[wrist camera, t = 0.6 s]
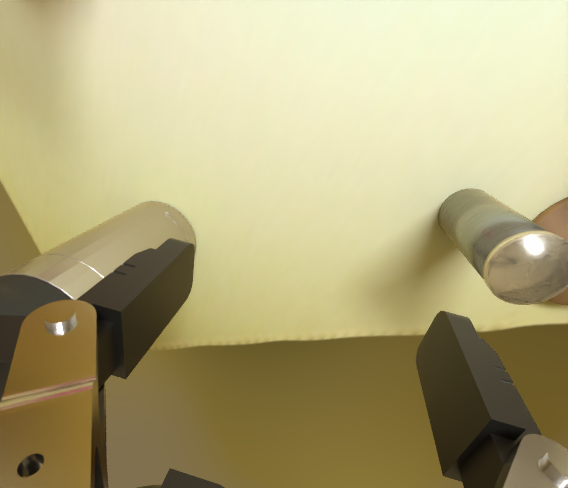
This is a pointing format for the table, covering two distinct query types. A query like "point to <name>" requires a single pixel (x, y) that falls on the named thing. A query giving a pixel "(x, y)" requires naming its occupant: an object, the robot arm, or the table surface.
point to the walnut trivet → (556, 232)
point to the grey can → (506, 247)
